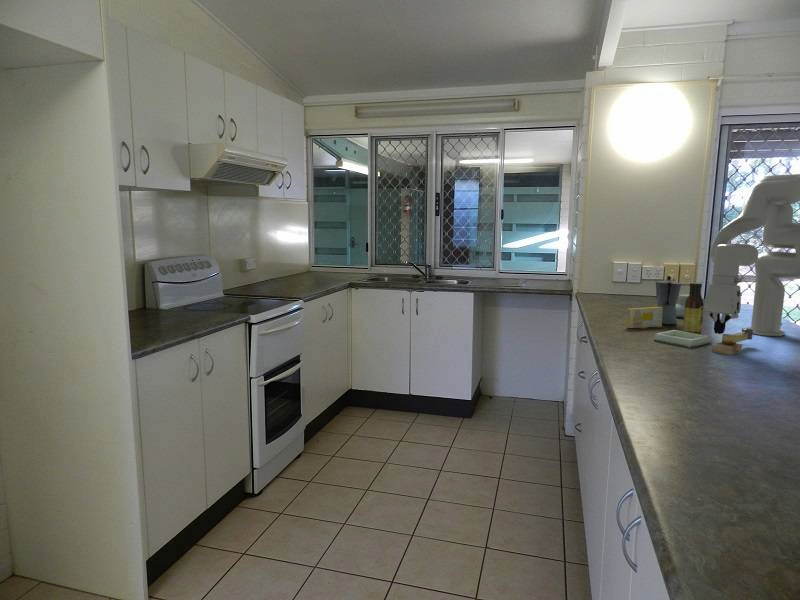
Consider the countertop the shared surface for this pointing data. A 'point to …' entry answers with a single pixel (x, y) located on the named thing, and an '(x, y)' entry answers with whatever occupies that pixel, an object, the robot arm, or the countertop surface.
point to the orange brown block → (726, 348)
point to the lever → (737, 336)
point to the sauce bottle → (693, 310)
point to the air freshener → (681, 305)
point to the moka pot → (667, 299)
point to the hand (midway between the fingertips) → (718, 333)
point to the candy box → (644, 317)
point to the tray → (682, 338)
